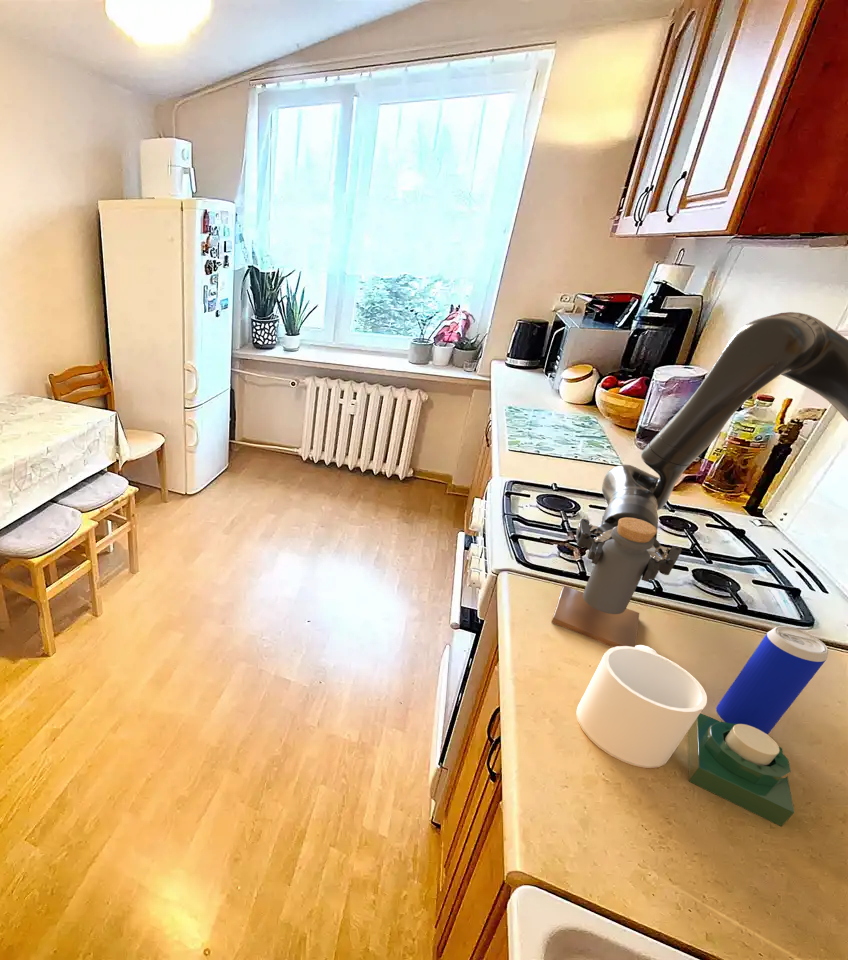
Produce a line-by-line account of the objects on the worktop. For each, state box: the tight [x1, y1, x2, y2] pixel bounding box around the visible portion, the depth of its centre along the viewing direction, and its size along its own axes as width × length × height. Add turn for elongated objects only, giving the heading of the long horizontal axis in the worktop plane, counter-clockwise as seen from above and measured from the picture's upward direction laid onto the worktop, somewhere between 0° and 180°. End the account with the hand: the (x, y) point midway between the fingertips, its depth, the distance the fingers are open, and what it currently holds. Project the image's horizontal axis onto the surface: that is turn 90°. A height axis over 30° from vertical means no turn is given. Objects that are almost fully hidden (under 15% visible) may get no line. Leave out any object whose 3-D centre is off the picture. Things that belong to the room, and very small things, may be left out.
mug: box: [575, 644, 708, 769], centre depth 66 cm, size 13×10×10 cm
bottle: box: [583, 517, 658, 614], centre depth 81 cm, size 6×6×15 cm
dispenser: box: [687, 712, 795, 827], centre depth 62 cm, size 10×8×4 cm
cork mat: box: [551, 585, 640, 648], centre depth 86 cm, size 11×11×1 cm
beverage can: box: [715, 625, 829, 736], centre depth 66 cm, size 5×5×15 cm
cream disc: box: [725, 724, 780, 766], centre depth 61 cm, size 4×4×2 cm
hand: (621, 567), depth 79 cm, fingers closed on bottle, 6 cm apart
